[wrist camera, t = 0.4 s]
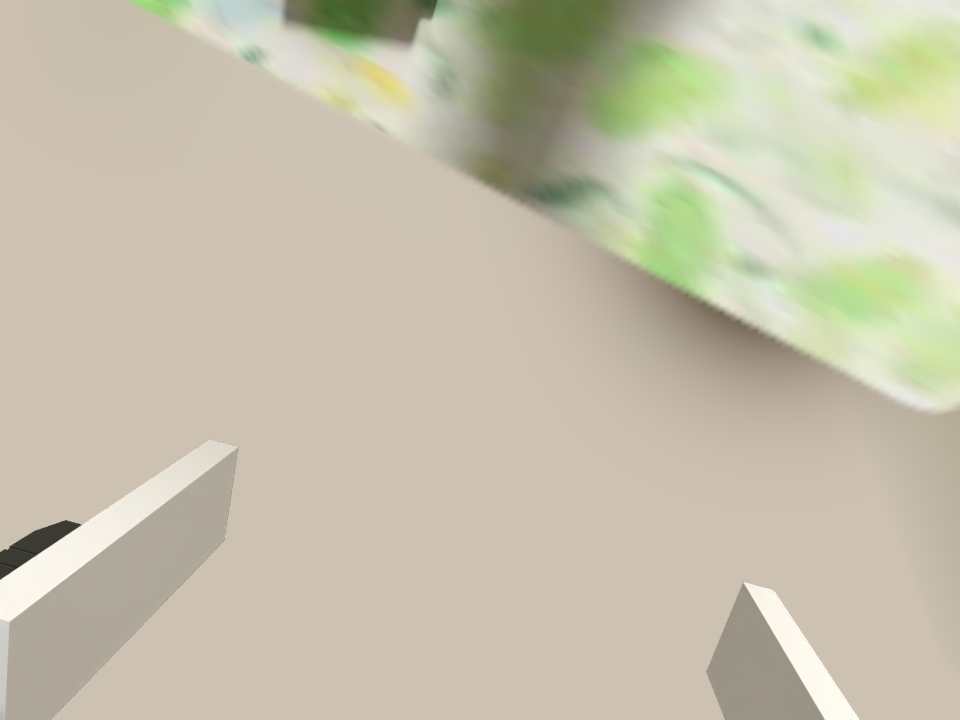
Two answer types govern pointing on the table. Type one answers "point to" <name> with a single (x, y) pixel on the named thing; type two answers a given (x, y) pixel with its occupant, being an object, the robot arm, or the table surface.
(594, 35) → the table surface
